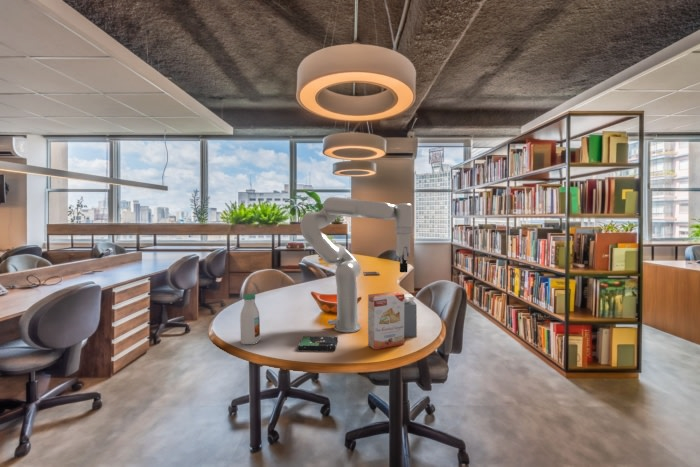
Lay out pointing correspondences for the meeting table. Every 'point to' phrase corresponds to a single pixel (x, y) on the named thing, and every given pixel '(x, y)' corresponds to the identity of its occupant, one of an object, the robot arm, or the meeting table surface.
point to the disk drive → (318, 343)
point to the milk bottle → (249, 321)
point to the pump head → (408, 298)
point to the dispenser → (410, 319)
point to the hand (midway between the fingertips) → (403, 272)
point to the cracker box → (385, 320)
